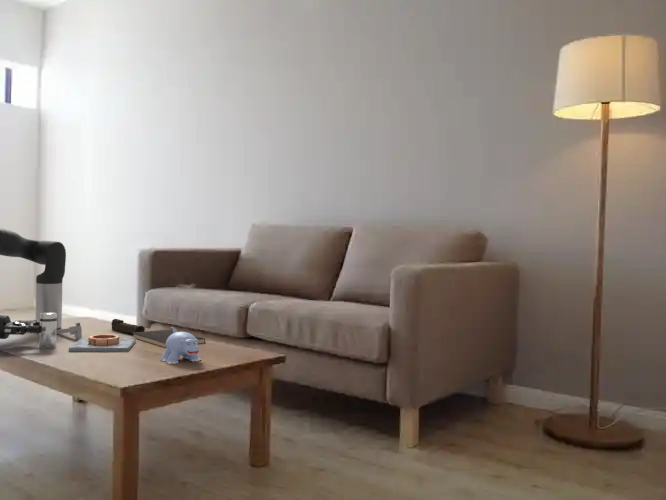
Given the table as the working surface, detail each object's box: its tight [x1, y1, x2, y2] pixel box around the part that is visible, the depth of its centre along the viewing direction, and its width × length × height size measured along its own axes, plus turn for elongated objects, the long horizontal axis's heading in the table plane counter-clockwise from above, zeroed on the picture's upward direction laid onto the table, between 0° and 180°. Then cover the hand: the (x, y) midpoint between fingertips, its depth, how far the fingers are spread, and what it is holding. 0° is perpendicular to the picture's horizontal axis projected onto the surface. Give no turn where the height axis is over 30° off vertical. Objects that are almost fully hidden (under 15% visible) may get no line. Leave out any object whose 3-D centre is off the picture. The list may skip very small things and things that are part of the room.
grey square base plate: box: [68, 333, 137, 353], centre depth 214 cm, size 18×18×3 cm
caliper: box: [57, 322, 83, 341], centre depth 230 cm, size 20×1×6 cm, turn 48°
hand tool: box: [111, 318, 146, 335], centre depth 242 cm, size 19×4×5 cm, turn 48°
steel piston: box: [38, 313, 58, 350], centre depth 209 cm, size 5×5×11 cm
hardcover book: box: [131, 328, 206, 348], centre depth 229 cm, size 16×23×2 cm
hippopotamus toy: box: [159, 326, 202, 365], centre depth 194 cm, size 11×15×10 cm
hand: (45, 327), depth 209 cm, fingers open, 8 cm apart
